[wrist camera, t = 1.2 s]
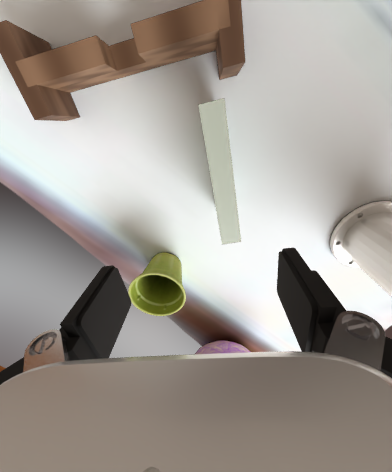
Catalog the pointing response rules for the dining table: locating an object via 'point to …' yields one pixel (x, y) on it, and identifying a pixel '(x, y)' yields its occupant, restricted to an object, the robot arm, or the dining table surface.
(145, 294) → the plant pot
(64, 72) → the walnut slot rail
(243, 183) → the dining table surface
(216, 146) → the sage slot plate
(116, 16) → the dining table surface
